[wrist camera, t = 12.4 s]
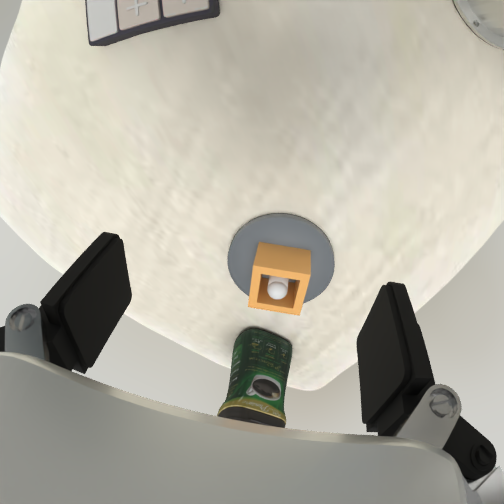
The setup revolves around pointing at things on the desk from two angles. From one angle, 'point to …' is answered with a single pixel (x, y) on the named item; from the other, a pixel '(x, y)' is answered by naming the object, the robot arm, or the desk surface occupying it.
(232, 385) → the coffee jar
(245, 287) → the post stand
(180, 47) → the desk surface
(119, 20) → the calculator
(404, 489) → the robot arm
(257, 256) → the collar
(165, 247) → the desk surface
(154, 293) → the desk surface
